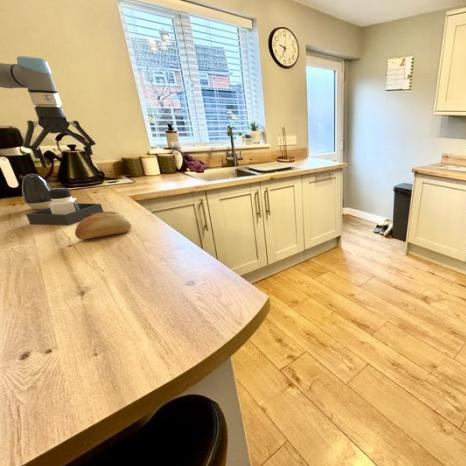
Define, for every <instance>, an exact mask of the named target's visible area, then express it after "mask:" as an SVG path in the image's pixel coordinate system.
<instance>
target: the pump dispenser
mask: <svg viewBox="0 0 466 466" xmlns="http://www.w3.org/2000/svg"><path fill="white" fill-rule="evenodd" d="M19 179H22V184H21V193H22V198H23V202H24V204H26V205H27V206H28V207H29V208H31V209H33V210H37V211H39V210H43V209H46V208H50V207H49V204H50V203H51V202H52V200H51V198H50V195H49V193H48V192H49V191H50V190H52V189H53V188H52V186H51V185H50V184H49V183H48V182H47V180H45V179H44V178H43V177H42V176H41V175H39V174H37V173H36V174H35V173H29V174H26V175H25V176H24V175H19Z"/></svg>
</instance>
